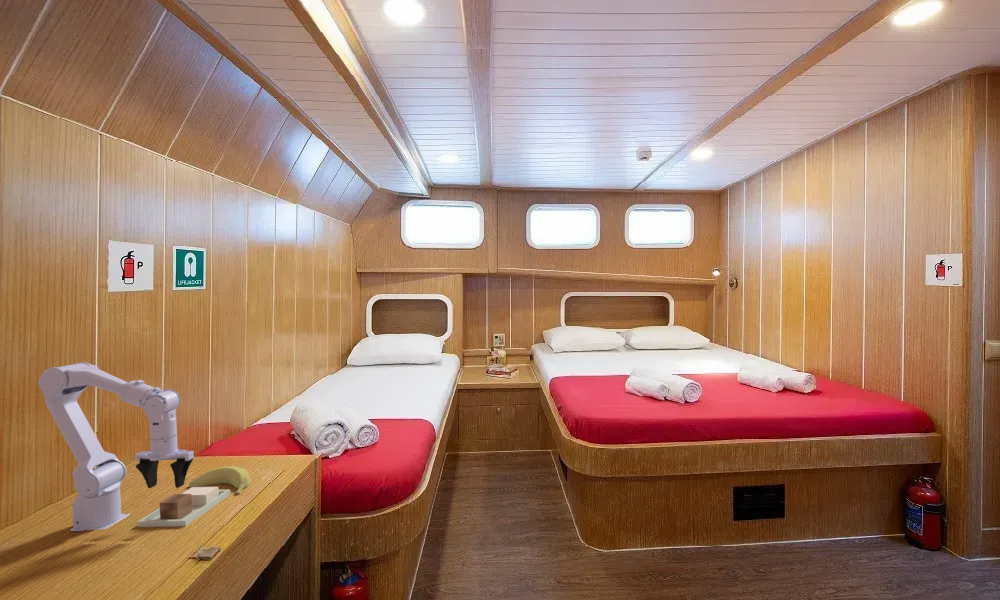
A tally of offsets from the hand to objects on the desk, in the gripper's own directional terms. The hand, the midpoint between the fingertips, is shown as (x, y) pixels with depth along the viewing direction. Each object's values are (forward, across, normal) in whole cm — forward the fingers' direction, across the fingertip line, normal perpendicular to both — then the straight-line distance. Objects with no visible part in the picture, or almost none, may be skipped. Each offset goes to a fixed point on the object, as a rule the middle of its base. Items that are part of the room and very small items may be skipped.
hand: (166, 486), depth 119 cm
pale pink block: (+9, +2, +10) cm, 13 cm away
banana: (+10, +3, +19) cm, 21 cm away
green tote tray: (+9, +2, +5) cm, 11 cm away
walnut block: (+9, +2, +1) cm, 9 cm away
